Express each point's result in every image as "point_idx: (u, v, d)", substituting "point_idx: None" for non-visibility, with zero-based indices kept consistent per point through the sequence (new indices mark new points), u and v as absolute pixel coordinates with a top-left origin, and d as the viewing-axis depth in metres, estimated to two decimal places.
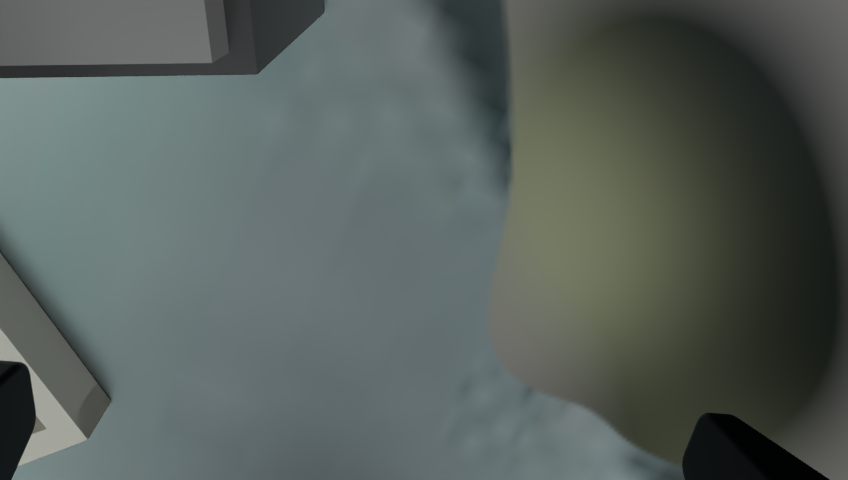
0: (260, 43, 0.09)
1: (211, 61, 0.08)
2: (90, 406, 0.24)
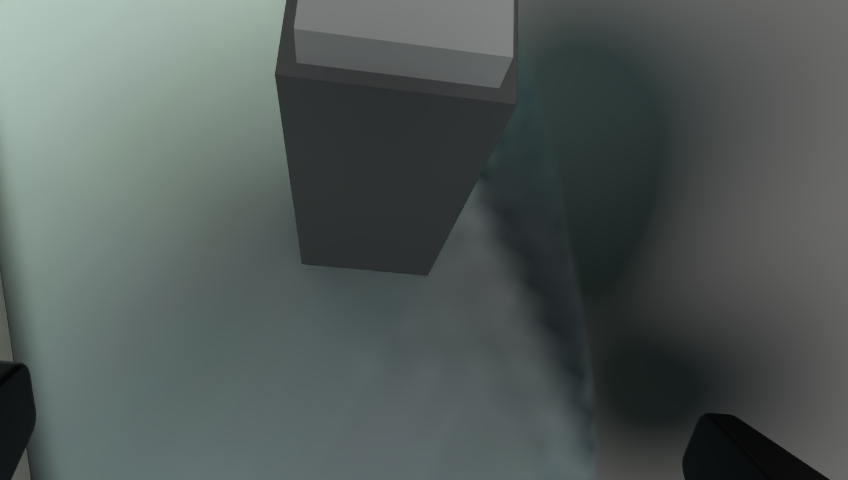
0: None
1: (511, 58, 0.11)
2: None
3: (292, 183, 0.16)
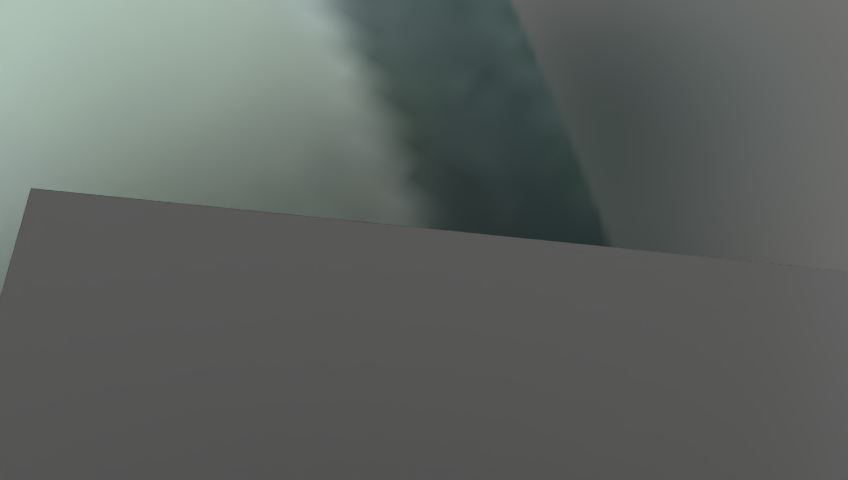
0: None
1: None
2: None
3: None
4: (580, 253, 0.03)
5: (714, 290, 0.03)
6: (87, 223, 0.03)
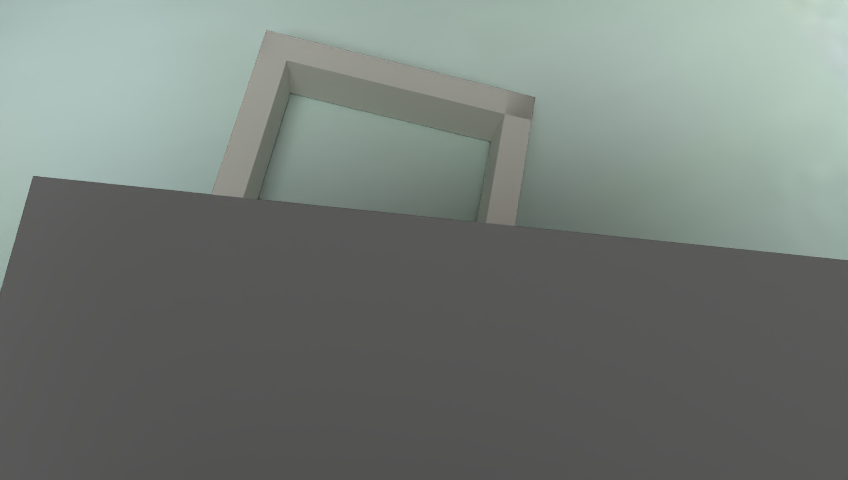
0: None
1: None
2: None
3: None
4: (582, 244, 0.03)
5: (716, 279, 0.03)
6: (90, 211, 0.03)
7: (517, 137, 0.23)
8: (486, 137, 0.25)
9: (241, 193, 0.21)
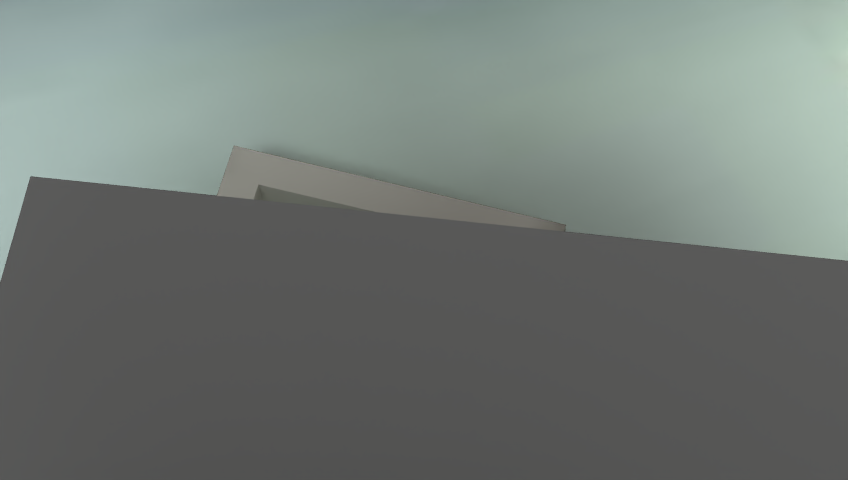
0: None
1: None
2: None
3: None
4: (583, 242, 0.03)
5: (717, 280, 0.03)
6: (87, 211, 0.03)
7: None
8: None
9: None
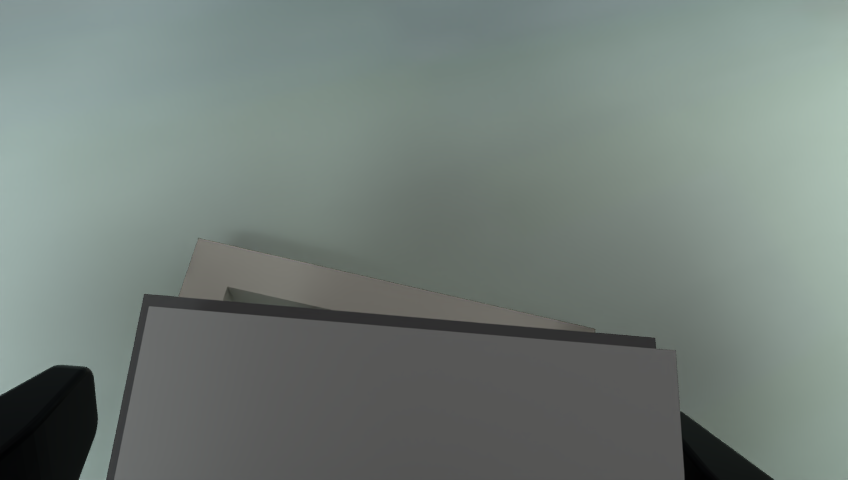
0: None
1: None
2: None
3: None
4: (479, 341, 0.05)
5: (562, 362, 0.05)
6: (182, 327, 0.04)
7: None
8: None
9: None
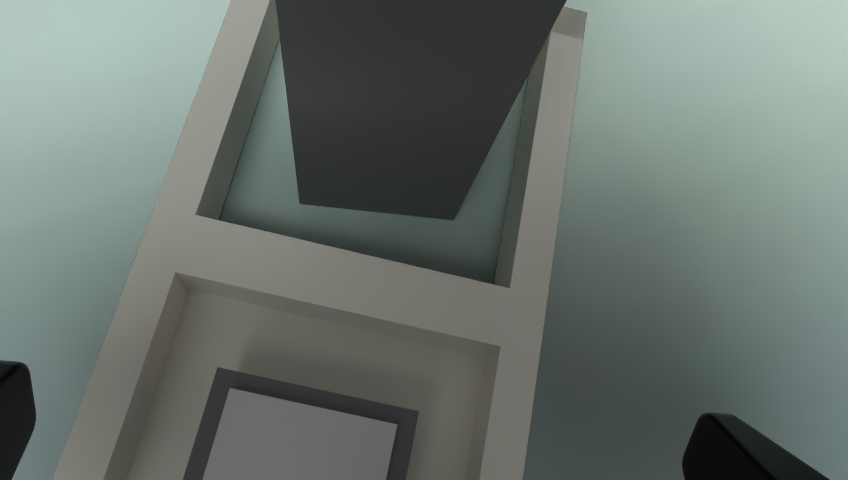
0: None
1: None
2: None
3: (285, 62, 0.12)
4: None
5: None
6: None
7: (566, 59, 0.19)
8: None
9: (225, 119, 0.17)
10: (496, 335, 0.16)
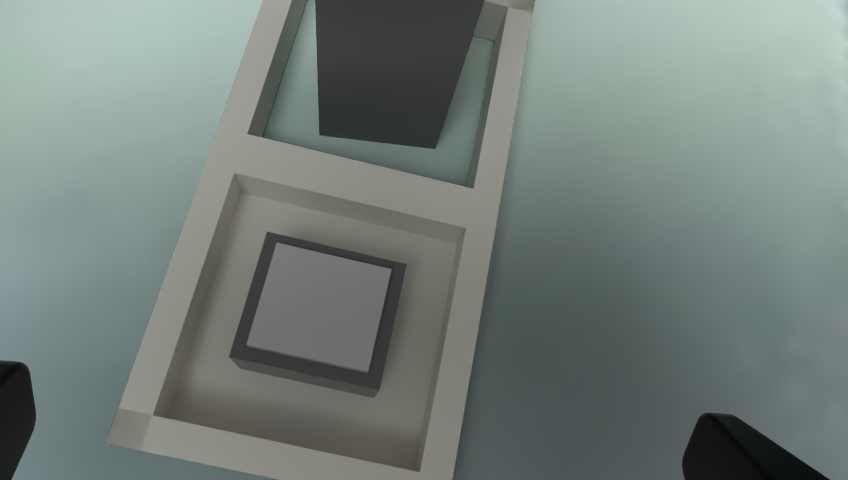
0: None
1: None
2: None
3: (317, 16, 0.18)
4: None
5: None
6: None
7: (519, 27, 0.25)
8: (491, 36, 0.27)
9: (267, 67, 0.23)
10: (463, 220, 0.22)
